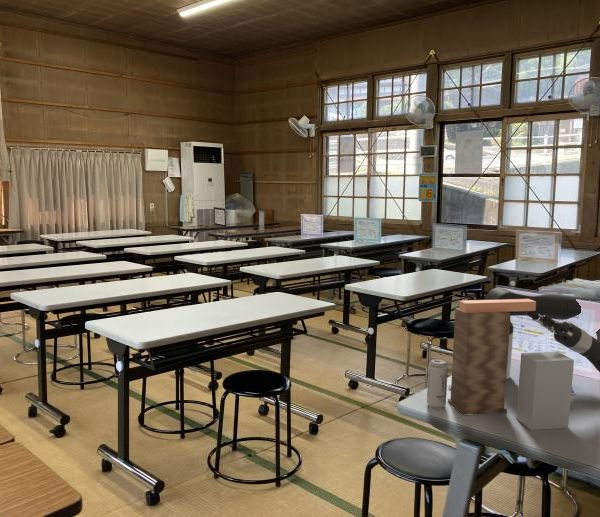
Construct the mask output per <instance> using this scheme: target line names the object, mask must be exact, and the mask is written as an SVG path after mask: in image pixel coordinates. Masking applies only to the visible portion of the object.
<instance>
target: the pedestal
mask: <svg viewBox="0 0 600 517" xmlns="http://www.w3.org/2000/svg"><path fill="white" fill-rule="evenodd" d="M511 317H512V316H511V313H508V312H477V313H464V312H462V311H460V310H459V307H455V310H454V326H453V328H454V330H453V331H454V332H453V348H452V364H451V365H452V367H451V383H450V385H451V390H450V398H447V403H448V404H449V405H450V406H453V407H454V408H453V407H452V408H453V409H454V410H455V411H456V412H458V413H459V414H460V415H461V414H462V415H461V416H468V415H467V414H473V415H486V414H488V413H489V414H501V413H502V414H504V413H503V412H505V413H507V412H508V408H507V407H505V402H506V388H507V379H506V375H507V360H508V346H509V331H510V321H511Z"/></svg>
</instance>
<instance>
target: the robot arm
mask: <svg viewBox="0 0 600 517" xmlns="http://www.w3.org/2000/svg"><path fill="white" fill-rule="evenodd" d="M504 299H531V300H533V301H536V310H535V311H511V312H508V313H511V317H513V316H514V317H515V316H516V317H518V316H520V317H522V316H526V317H527V316H528V317H529V318H531V319H532V321H533V322H536V323H537V324H539V325H540V326H541V327H543V328H544V329H547V331H548V332H551V333H553V338H554V340H555V341H556V342H557V343H559V344H561V345H562V346H564V347H565V348H567V349H569V350H570V351H573V352H575V353H577V354H579V355H580V356H582V357H583V358H585V359H586V360H587V361H588V362H590V364H592V366H593V367H594V368H595V369H596V370H597V371H598V372H599V373H600V329H599V330H598V331H597V332H595V334H596V338H595V337H594V336H592V335H591V334H589V333H588V332H586V331H585V330H584V329H582V328H580V327H579V326H578V325H576V324H574V323H572V322H571V321H565V320H569V319H572V318H575V317H578V316H580V315H581V314H580V313H581V306H580V305H579V303H578V302H577V301H576V299H581V300H591V301H600V296H587V297H585V296H571V295H563V294H554V293H553V294H551V293H544V294H539V295H538V294H537V295H527V294H521V293H517V292H513V291H510V290H507V289H505V288H502V287H494V288H492V289H491V290H489V292H488V293H487V295H486V299H485V300H504ZM579 314H580V315H579ZM577 315H578V316H577ZM558 320H559V321H558ZM561 320H562V322H560V321H561ZM563 320H564V321H563ZM513 338H514V324H513V323H512V322H511V320H510V331H509V346H508V360H507V375H506V380H509V379H510V377H511V368H512V354H513V341H514V340H513Z"/></svg>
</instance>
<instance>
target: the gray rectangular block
mask: <svg viewBox="0 0 600 517" xmlns="http://www.w3.org/2000/svg"><path fill="white" fill-rule="evenodd" d="M574 364H575V359H573V358H571V357H569V356H567V355H565V354H563V353H561V352H559V351H538V352H521V353H520V363H519V366H520V367H519V376H518V377H519V380H518V393H517V408H516V420H517V421H519V422H520V423H521V424H523V425H524V426H525V427H526V428H528V429H530V431H541V430H553V429H568V428H569V424H570V422H569V421H570V411H571V410H570V409H571V402H572V394H571V390H572V388H573V376H574Z"/></svg>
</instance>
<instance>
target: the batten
mask: <svg viewBox="0 0 600 517" xmlns="http://www.w3.org/2000/svg"><path fill="white" fill-rule="evenodd" d="M458 308H459V310H460V311H462V312H464V313H477V312H511V311H535V310H536V301H533V300H531V299H504V300H486V299H472V300H471V299H470V300H459V302H458Z"/></svg>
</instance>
